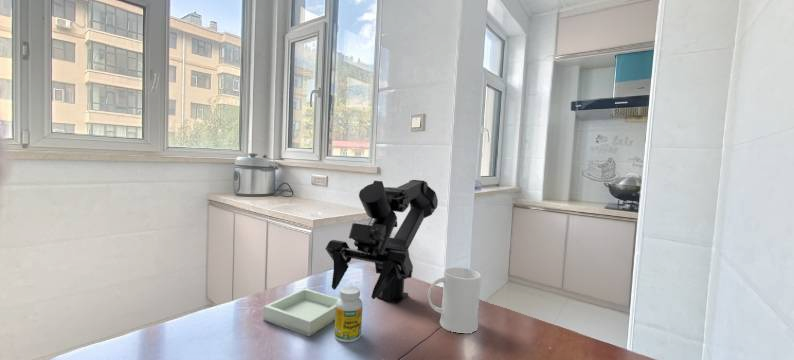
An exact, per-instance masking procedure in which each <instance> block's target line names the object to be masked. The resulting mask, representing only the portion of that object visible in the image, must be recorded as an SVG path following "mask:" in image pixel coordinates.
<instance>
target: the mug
mask: <svg viewBox="0 0 794 360" xmlns="http://www.w3.org/2000/svg"><path fill="white" fill-rule="evenodd" d="M443 273H444V274H443V277H439V278H437V279H436V280H434V281H433V282H432V283H431V284H430V285H429V287H428V288H429V289H428V291H427V302H428V304H429V306H430V308H432V310H434V311H435V312H436V313H439V314H440V319H439V325H440V326H441V327H442V328H443V329H444V330H446V331H448V332H450V331H451V332H450V333H453V332H457V333H470V332H473V331H475V330H476V329H477V328H479V325H478V323H479V322H478V317H479V315H478V314H479V304H480V292H481V281H482V278H481V277H482V275H481V273H480V272H478V271H476V270H475V269H470V268H467V267H457V266H456V267H447V268H446V269H444V272H443ZM442 283H443V284H442ZM438 284H442V285H443V286H442V287H443V288H442V299H441V300H442V302H441V307H438V306H436V305H434V303H432V300H431V292H432V290H433V289H434V287H436V285H438ZM477 330H478V329H477ZM457 333H456V334H457Z"/></svg>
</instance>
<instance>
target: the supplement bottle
mask: <svg viewBox="0 0 794 360" xmlns="http://www.w3.org/2000/svg"><path fill="white" fill-rule="evenodd" d="M360 296H361V290H360V288H359V287H355V286H343V287H342V288H340V290H339V297H338V298H339V299H338V300H337V302H336V314H335V320H334V338H335V340H337V341H339V342H341V343H354V342H356V341H359V339H360V338H361V335H362V323H363V321H362V319H363V306H364V305H363V300H362V299H361V298H360Z"/></svg>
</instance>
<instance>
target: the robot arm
mask: <svg viewBox="0 0 794 360" xmlns="http://www.w3.org/2000/svg"><path fill="white" fill-rule="evenodd" d="M358 193H359V194H358V197H359V200H360V202H361V204H362V207H363V209H364V211H365V214H366V215H367V217H369V218H370V220H369V223H368V224H365V223H364V224H363V223H355V222H352V224H351V228H350V231H349V235H348V239H352V240H354V242H353V245H354V246H355V247H356V249H352V248H351V247H350V246H349V245H348V243H347V242H346V241H342V240H338V239H331V240H329V241H328V242H327V245H326V247H325V250H326V252H327V254H328V255H329V257H330V258H331V259H332V261H333V271H332V272H333V273H332V281H331V288H332V290H333V291H334V290H336V289H337V288H338V287H339V285H340V283H341V281H342V280H343V277H344V276H345V274H346V272H347V271H348V269H349V263H351V260H352V259H355V260H360V261H364V262H370V263H374V265H375V267H374V268H375V273H376V274H379V276H378V278H377V281H376V283H375V286H374V287H373V290H372V292H371V300H375V299H376V298H377V299H381V300H385V301H387V302H388V301H389V302H392V303H397V304H399V303H400V302H402V301H403V300H404V299H406V298H407V297H408V296H409V292H408V293H407V292H406V291H404V289H405V280H407V279H410V278H412V276H413V269H414V266H413V263H412V261H411V258H410V251H409V248H410V246H411V245H412V242H413V240H414V239H415V236H416V234H417V233H418V231H419V229H420V227H421V225H422V223H423V221H424V219H426V218H428V217H430V216H432V215H433V213H434V212H435V211H436V210H437V208H438V203H439V202H438V201H439V199H438V197H437V193H436V191H435V190H434V189H432V188H431V186H429V185H428V181H426V180H421V179H420V180H419V179H412V180H409V181H408V182H406V183H404V184H402V185H399V186H397V187H392V186H391V187H390V186H388V187H387V186H384V182H383V181H382V180H374V181H373V182H372V183H371V184H368V185H366V186H364V187H363V188H361V189H360V190H359V192H358ZM408 208H409V209H410V210H409V211H408V212H407V215H406V216H405V218H404V220H403V221H402V223H401V224H400V226H399V228H398V230H397V231H396V233H395V234H394V236H393V237H391V236H392V233H393V230H394V228H397V227H398V221H397V220H398V217H397V214H396V213H404V212H406V210H407V209H408Z"/></svg>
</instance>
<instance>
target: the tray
mask: <svg viewBox="0 0 794 360" xmlns="http://www.w3.org/2000/svg"><path fill="white" fill-rule="evenodd" d="M339 298H340V297H336V296H333V295H329V294H326V293H323V292H319V291H315V290H313V289H309V288H306V287H305V288H302V289H299V290H297V291H295V292H293V293H291V294H288V295H286V296H284V297H282V298H279V299H277V300H275V301H273V302H271V303H268V304H265V305H264V306H263V321H265V322H267V323H268V322H269V323H271V324H273V325H276V326H279V327H282V328H284V329H287V330H289V331H293V332H294V333H295V332H296V333H298V334H301V335H303V336H306V337H311V336H313V335H314V334H316V333H317V332H319V331H320V330H322V329H324V328H325V327H326V326H328V325H330V324H331V323H333V322H335V314H336V302H337V300H338V299H339Z"/></svg>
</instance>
